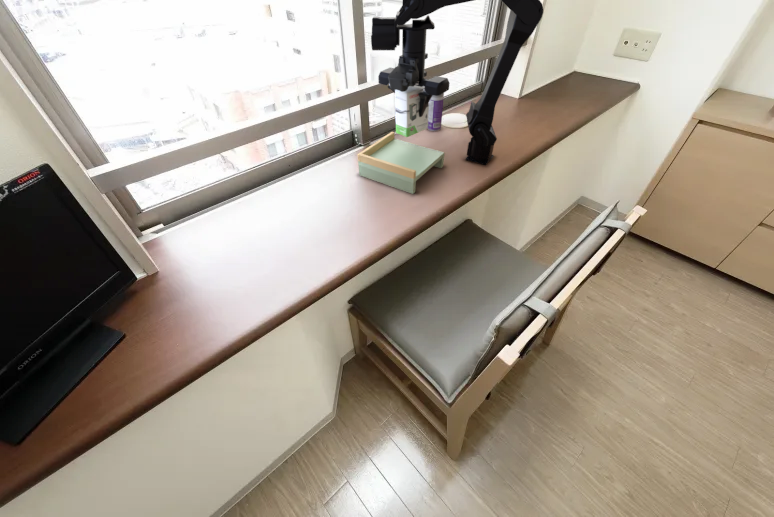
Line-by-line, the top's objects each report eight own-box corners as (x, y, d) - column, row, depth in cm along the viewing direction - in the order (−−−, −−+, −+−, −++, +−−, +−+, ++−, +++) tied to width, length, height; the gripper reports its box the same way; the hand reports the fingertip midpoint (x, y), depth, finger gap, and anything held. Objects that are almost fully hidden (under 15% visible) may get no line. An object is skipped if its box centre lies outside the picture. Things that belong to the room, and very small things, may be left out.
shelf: (443, 166, 99) (445, 145, 95) (413, 194, 89) (413, 172, 85) (392, 151, 107) (391, 131, 102) (359, 175, 97) (357, 154, 92)
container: (442, 126, 119) (446, 80, 109) (439, 131, 116) (443, 85, 106) (429, 124, 120) (432, 79, 110) (425, 130, 117) (428, 83, 107)
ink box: (406, 138, 94) (406, 93, 86) (394, 132, 97) (393, 88, 89) (428, 128, 98) (430, 85, 90) (416, 124, 101) (417, 81, 93)
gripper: (363, 52, 83) (367, 116, 94) (430, 63, 75) (426, 132, 86) (389, 43, 89) (390, 104, 100) (453, 52, 81) (446, 117, 92)
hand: (411, 114), depth 94 cm, fingers closed on ink box, 5 cm apart
